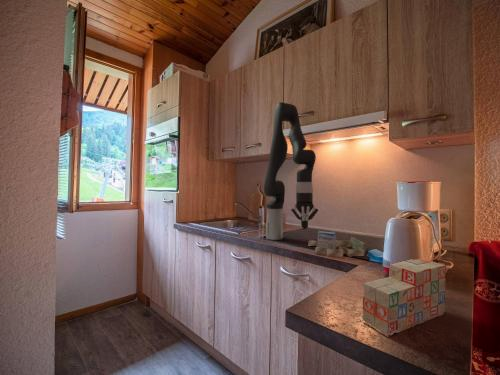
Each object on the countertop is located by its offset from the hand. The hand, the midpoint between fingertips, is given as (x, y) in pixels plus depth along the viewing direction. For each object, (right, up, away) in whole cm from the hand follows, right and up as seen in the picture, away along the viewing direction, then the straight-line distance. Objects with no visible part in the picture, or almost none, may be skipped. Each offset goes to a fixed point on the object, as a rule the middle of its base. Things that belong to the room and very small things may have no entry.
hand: (304, 228), depth 115 cm
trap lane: (+15, -10, -1) cm, 18 cm away
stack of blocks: (+11, -12, -58) cm, 60 cm away
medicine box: (+11, -11, 0) cm, 15 cm away
